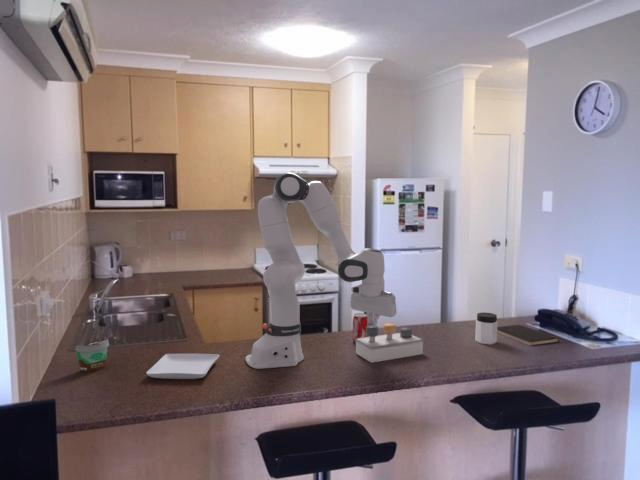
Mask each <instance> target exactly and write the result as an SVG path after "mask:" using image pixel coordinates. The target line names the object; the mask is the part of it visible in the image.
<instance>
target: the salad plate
mask: <svg viewBox="0 0 640 480" xmlns="http://www.w3.org/2000/svg"><path fill="white" fill-rule="evenodd" d="M219 358H220V354H218V353H217V354H215V353H166V354H164V355H162V357H161V358H160V359H159V360H157V362H156V363H155V364H153V365H152V366H151V367H150V368H149V369H148V370H147V371H146V376H148V377H150V378H154V379H164V380H197V379H202V378H204V377H206V375H207V374H208V371H210V369H211V368H212V366H213V365H214V364H215V363H216V362H217V361H218V359H219Z"/></svg>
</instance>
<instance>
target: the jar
mask: <svg viewBox="0 0 640 480" xmlns="http://www.w3.org/2000/svg"><path fill="white" fill-rule="evenodd" d="M497 320H498V316H497V314H495V313H491V312H486V311H485V312H478V313H477V314H476V319H475V333H474V334H475V335H474V340H475V342H477V343H478V344H480V345H481V344H482V345H491V346H492V345H494V344H496V343H497V342H498V333H497V327H498V322H499V321H497Z"/></svg>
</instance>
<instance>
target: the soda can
mask: <svg viewBox="0 0 640 480" xmlns="http://www.w3.org/2000/svg"><path fill="white" fill-rule="evenodd" d="M367 326H370V324H369V320H368V318H367V315H366V313H364V312H363V313H362V312H360V313H358V312H357V313H355V314H353V318H352V341H353V342H354V343H355V344H356V339H358V338H365V337H369V336H367V335H366V327H367Z"/></svg>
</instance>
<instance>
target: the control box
mask: <svg viewBox="0 0 640 480" xmlns="http://www.w3.org/2000/svg"><path fill="white" fill-rule="evenodd" d="M423 352H424V339H422V338H421V337H418V336H416V335H414V334H412V337H411V338H403V337H400V332H396V333H395V334H392V340H387V334H386V333H385V334H380V335H379V334H378V336H375V343H370V342H369V337H365V338H358V339H356V343H355V354H357V355H358V356H360V358H363V359H364V360H366V361H367V362H369V363H378V362H383V361H391V360H395V359H402V358H407V357H413V356H419V355H424V354H423Z"/></svg>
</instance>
